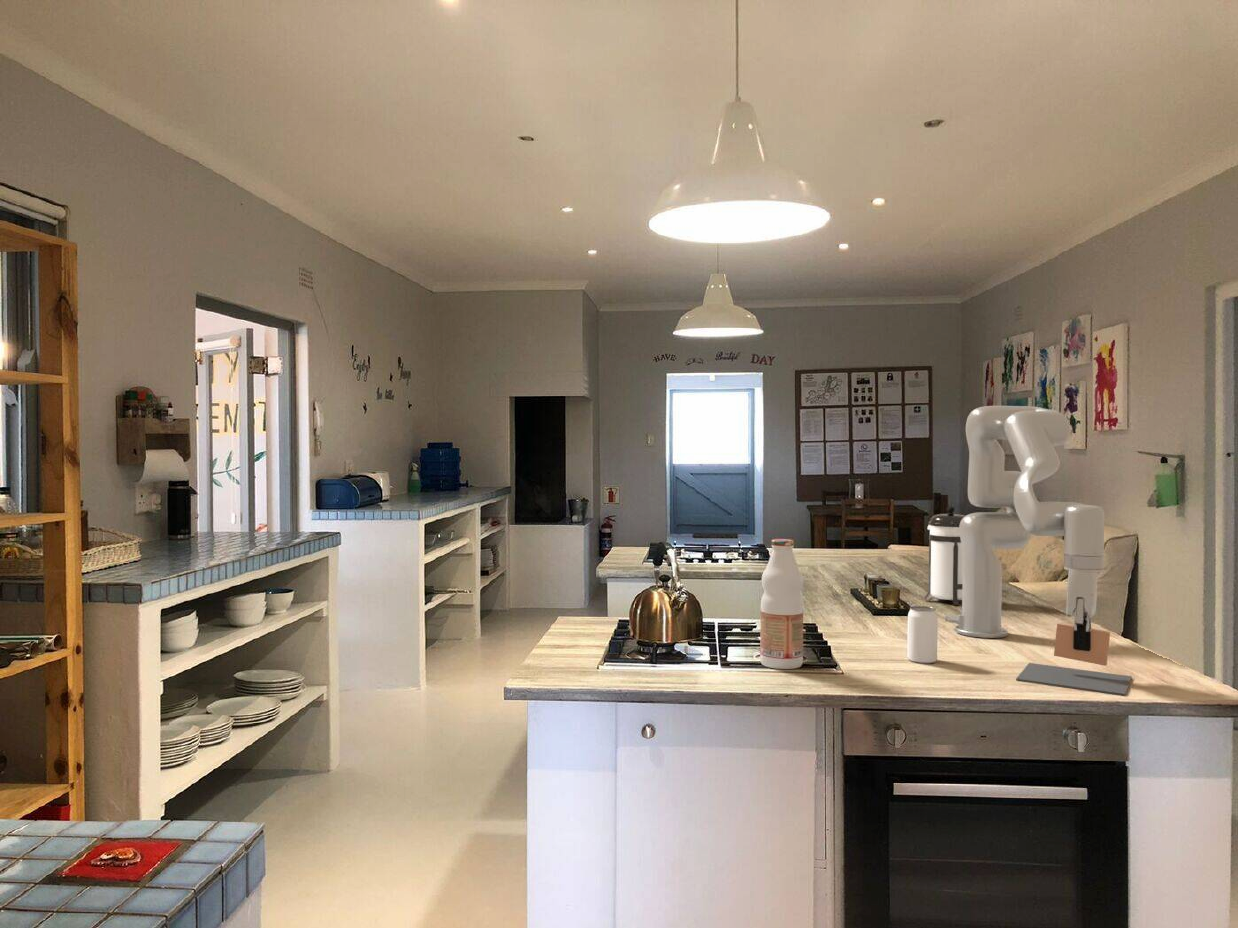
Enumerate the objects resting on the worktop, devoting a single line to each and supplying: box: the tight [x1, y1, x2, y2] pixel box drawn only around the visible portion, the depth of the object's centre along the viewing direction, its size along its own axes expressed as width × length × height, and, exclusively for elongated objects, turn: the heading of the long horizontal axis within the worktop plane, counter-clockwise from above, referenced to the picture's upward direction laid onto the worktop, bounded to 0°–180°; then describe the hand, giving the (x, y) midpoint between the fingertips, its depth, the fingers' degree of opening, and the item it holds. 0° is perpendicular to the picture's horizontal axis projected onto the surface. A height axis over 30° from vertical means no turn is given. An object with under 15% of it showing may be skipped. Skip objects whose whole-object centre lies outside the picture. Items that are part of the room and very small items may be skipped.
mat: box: [1015, 662, 1132, 697], centre depth 188 cm, size 20×16×1 cm
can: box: [906, 605, 939, 665], centre depth 204 cm, size 6×6×12 cm
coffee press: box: [924, 505, 966, 607], centre depth 277 cm, size 17×16×30 cm
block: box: [1053, 622, 1111, 667], centre depth 190 cm, size 10×2×7 cm, turn 56°
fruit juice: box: [759, 538, 804, 670], centre depth 199 cm, size 9×9×28 cm
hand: (1082, 648), depth 190 cm, fingers closed on block, 1 cm apart
